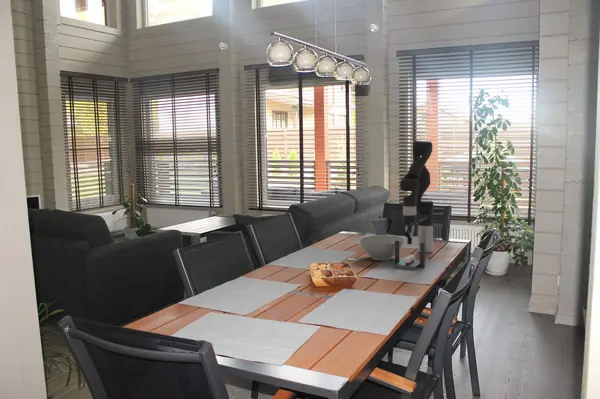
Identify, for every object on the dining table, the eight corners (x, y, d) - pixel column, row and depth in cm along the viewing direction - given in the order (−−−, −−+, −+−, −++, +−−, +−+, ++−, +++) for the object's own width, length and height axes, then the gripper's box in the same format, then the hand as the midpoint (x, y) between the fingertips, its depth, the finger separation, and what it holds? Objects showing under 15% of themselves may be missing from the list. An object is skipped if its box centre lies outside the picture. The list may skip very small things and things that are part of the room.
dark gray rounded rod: (395, 264, 300) (395, 240, 299) (400, 264, 299) (399, 240, 297) (394, 264, 298) (394, 241, 296) (398, 265, 297) (398, 241, 295)
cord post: (420, 266, 292) (420, 242, 291) (425, 267, 291) (425, 242, 290) (419, 267, 290) (419, 243, 289) (423, 268, 289) (423, 243, 287)
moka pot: (368, 243, 362) (368, 215, 359) (387, 241, 368) (387, 213, 366) (376, 246, 353) (376, 217, 351) (395, 243, 359) (394, 215, 357)
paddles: (409, 258, 299) (409, 254, 299) (414, 259, 298) (414, 255, 297) (404, 262, 291) (404, 258, 291) (409, 262, 289) (409, 258, 289)
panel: (404, 262, 304) (404, 257, 304) (424, 264, 298) (424, 259, 298) (394, 267, 291) (394, 263, 291) (415, 270, 285) (415, 265, 284)
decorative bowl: (403, 263, 300) (403, 243, 299) (357, 262, 306) (357, 242, 304) (403, 253, 326) (403, 235, 325) (361, 253, 332) (361, 234, 331)
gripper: (407, 212, 299) (407, 241, 301) (399, 215, 288) (399, 245, 289) (419, 212, 295) (419, 242, 297) (412, 215, 284) (412, 246, 286)
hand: (409, 243), depth 293 cm, fingers closed
